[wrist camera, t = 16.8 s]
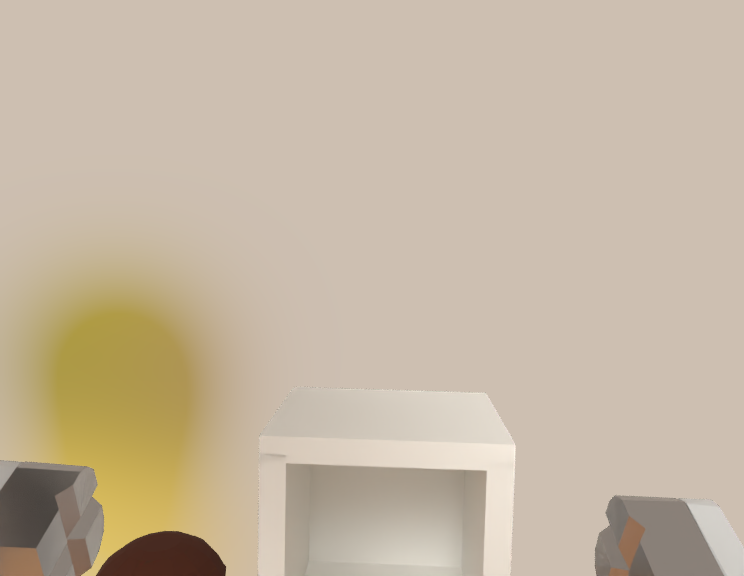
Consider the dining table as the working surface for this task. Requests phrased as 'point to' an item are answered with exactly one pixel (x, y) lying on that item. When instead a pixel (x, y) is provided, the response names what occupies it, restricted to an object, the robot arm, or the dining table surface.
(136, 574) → the muffin
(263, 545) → the tall white box
